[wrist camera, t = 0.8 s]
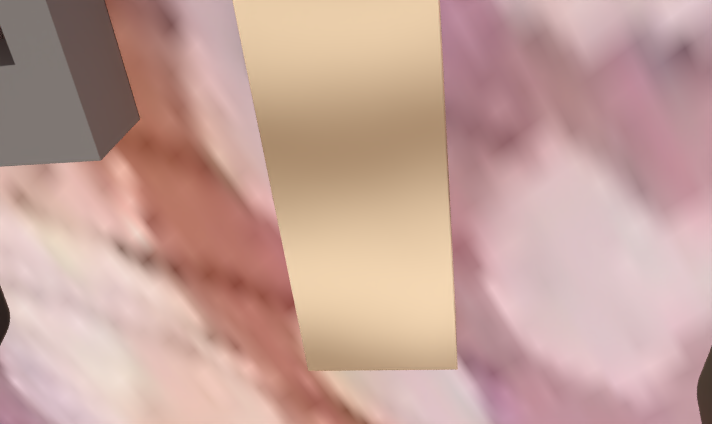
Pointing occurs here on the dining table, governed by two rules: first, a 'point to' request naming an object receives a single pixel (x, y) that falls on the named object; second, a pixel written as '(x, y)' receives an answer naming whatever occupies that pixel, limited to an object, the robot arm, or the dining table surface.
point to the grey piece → (60, 83)
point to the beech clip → (358, 175)
